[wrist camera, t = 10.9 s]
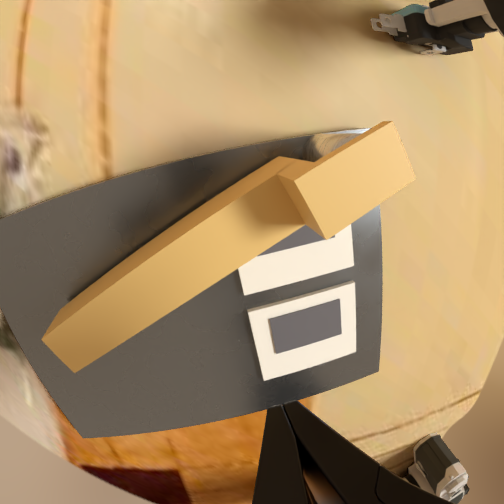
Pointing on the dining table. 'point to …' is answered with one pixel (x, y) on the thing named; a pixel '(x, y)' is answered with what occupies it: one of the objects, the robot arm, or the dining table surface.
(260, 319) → the label tile
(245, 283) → the label tile
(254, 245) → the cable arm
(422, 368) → the dining table surface
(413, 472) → the camera
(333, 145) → the pivot post
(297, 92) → the dining table surface
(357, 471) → the robot arm
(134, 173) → the chassis plate
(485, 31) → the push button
